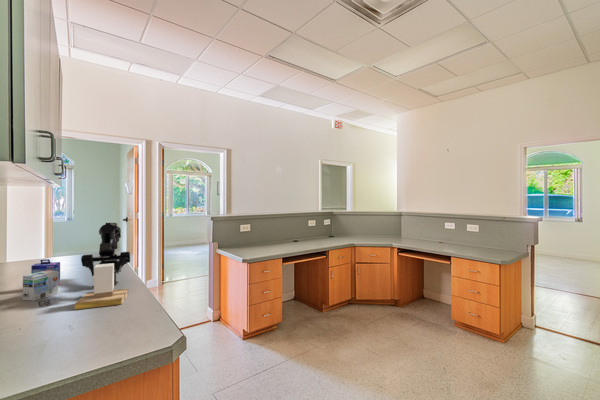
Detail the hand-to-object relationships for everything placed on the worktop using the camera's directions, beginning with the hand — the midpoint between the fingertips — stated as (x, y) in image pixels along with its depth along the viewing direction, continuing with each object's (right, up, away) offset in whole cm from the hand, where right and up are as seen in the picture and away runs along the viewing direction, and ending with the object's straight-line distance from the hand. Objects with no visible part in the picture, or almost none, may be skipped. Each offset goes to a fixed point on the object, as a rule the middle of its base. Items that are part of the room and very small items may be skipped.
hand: (105, 274), depth 127 cm
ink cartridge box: (-39, -10, +13) cm, 42 cm away
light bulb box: (-29, -10, 0) cm, 31 cm away
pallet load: (+3, -8, -5) cm, 10 cm away
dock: (+3, -10, -5) cm, 12 cm away
